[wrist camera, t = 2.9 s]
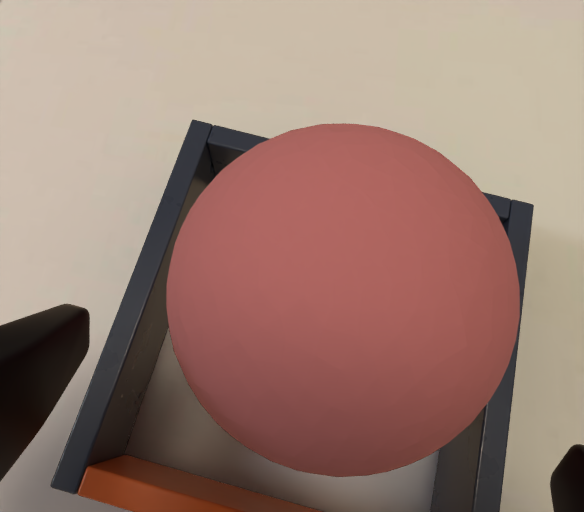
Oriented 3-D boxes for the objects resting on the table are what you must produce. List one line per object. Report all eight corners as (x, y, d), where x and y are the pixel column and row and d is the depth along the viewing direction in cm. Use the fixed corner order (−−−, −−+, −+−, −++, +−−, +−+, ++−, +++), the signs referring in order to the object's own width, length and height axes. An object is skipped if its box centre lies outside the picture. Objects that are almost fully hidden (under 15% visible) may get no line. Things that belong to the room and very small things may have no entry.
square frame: (444, 573, 16) (489, 618, 13) (94, 471, 16) (48, 487, 13) (491, 238, 20) (534, 203, 16) (205, 165, 20) (192, 118, 17)
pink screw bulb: (210, 269, 19) (108, 59, 7) (381, 247, 19) (530, 19, 8) (228, 456, 17) (122, 563, 5) (419, 426, 17) (697, 466, 6)
